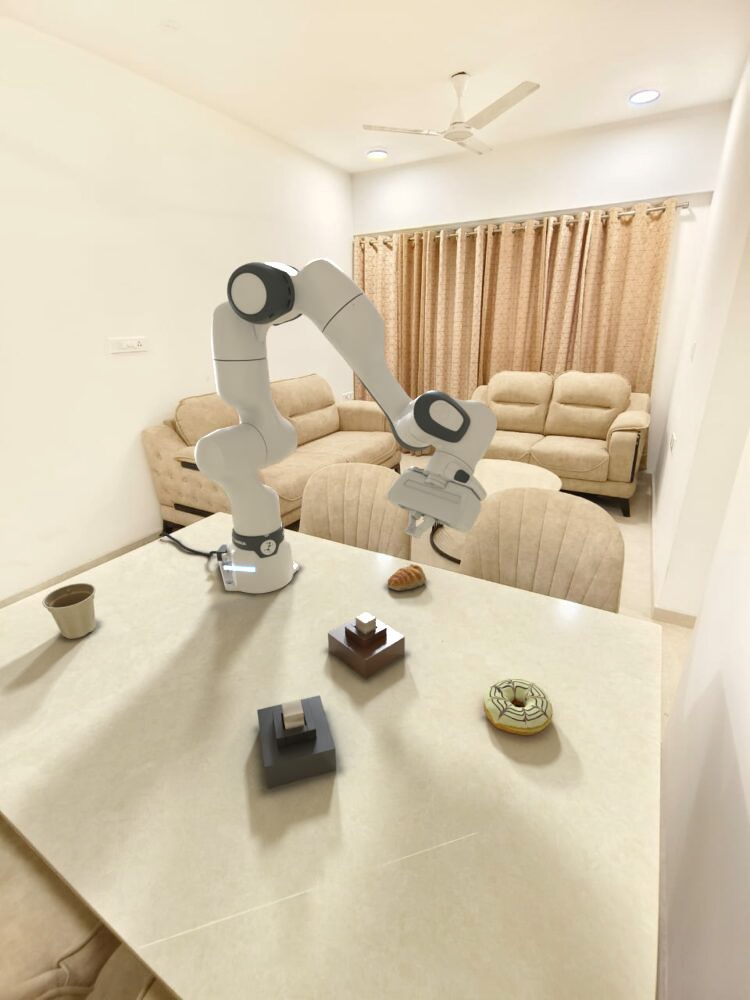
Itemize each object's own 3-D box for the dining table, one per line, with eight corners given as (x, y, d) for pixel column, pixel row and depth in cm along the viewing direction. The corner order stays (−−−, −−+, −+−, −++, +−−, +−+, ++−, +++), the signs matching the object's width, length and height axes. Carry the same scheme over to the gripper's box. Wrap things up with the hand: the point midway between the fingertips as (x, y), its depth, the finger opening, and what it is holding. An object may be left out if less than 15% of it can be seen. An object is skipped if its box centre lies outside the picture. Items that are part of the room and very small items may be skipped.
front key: (282, 716, 75) (281, 703, 74) (301, 712, 76) (300, 699, 75) (285, 730, 73) (284, 717, 72) (304, 726, 73) (303, 712, 72)
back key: (355, 628, 95) (355, 617, 94) (366, 622, 97) (366, 611, 96) (365, 635, 93) (364, 623, 92) (376, 628, 95) (376, 617, 94)
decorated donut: (477, 691, 87) (478, 674, 86) (539, 691, 87) (541, 673, 86) (490, 740, 77) (491, 721, 76) (559, 739, 77) (562, 720, 76)
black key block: (259, 729, 80) (255, 700, 78) (321, 715, 83) (319, 686, 80) (267, 789, 70) (263, 757, 68) (336, 770, 73) (334, 739, 71)
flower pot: (58, 650, 99) (47, 614, 95) (48, 629, 105) (38, 594, 102) (109, 631, 104) (100, 595, 101) (97, 612, 111) (88, 578, 108)
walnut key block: (328, 650, 98) (327, 625, 96) (366, 629, 104) (366, 604, 102) (365, 679, 90) (365, 652, 88) (404, 654, 96) (404, 628, 94)
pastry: (399, 596, 115) (399, 582, 114) (380, 585, 120) (380, 571, 119) (428, 583, 121) (428, 569, 119) (409, 572, 126) (409, 559, 124)
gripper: (401, 456, 104) (367, 512, 102) (481, 480, 90) (444, 545, 88) (415, 472, 109) (383, 526, 106) (494, 496, 94) (459, 559, 92)
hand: (411, 535), depth 97 cm, fingers closed
